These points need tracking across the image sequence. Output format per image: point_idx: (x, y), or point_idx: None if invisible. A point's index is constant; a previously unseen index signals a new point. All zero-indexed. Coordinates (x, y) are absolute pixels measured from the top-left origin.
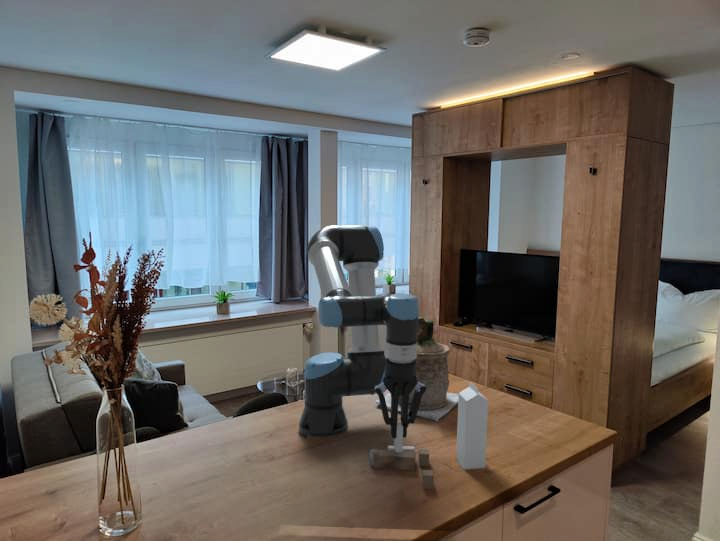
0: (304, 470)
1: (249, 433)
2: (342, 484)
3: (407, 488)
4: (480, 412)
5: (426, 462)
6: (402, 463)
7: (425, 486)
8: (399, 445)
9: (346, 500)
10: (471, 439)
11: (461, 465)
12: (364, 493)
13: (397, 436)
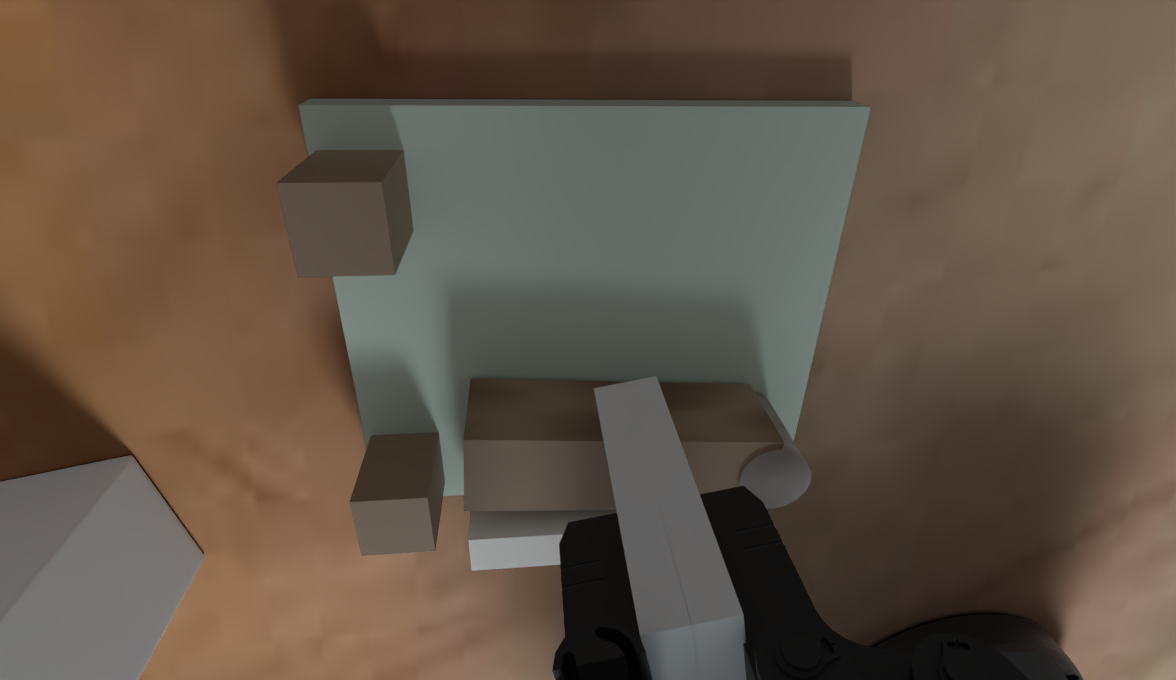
0: (1146, 353)
1: None
2: (965, 224)
3: None
4: None
5: (383, 454)
6: (562, 407)
7: (379, 155)
8: (638, 425)
9: (990, 19)
10: None
11: (155, 490)
12: None
13: (693, 501)
